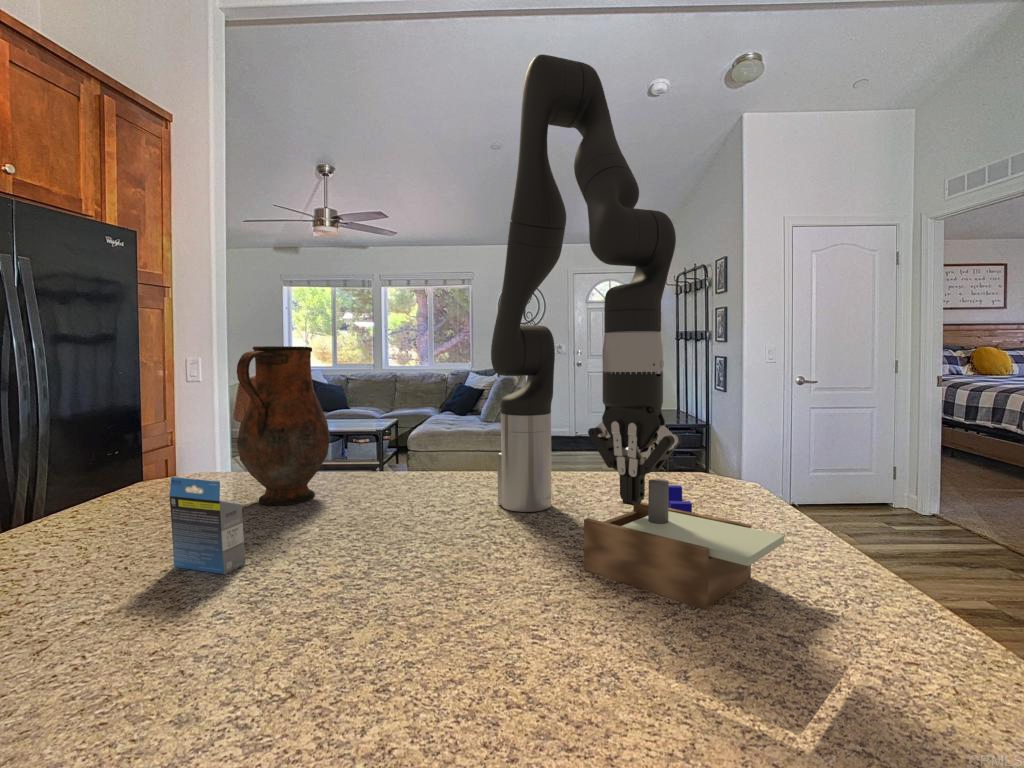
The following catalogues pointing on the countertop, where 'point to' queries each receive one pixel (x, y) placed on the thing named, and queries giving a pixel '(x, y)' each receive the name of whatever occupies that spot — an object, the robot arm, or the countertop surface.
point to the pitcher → (282, 423)
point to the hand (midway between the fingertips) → (632, 503)
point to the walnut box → (660, 560)
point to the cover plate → (704, 530)
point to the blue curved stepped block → (678, 499)
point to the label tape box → (205, 528)
